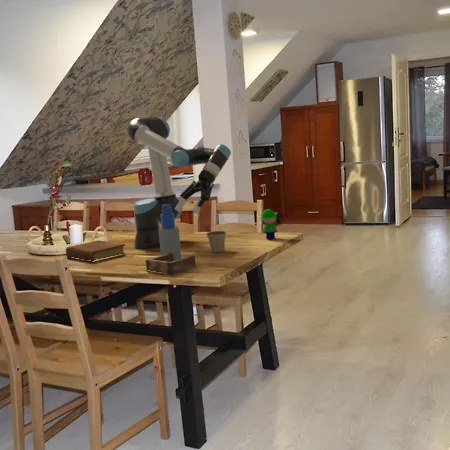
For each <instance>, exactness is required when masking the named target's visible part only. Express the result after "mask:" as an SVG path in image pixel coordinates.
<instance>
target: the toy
mask: <svg viewBox="0 0 450 450" xmlns="http://www.w3.org/2000/svg"><path fill="white" fill-rule="evenodd" d="M261 214H262V216H261V217H260V220H263V222H264V225H263V231H262V233H263V234H265V237H266V238H267V240H268V241H274V240H273V239H275V240H276V233H277V232H278V230H277V227H276V224H275V223H277V224H280V223H281V222H280V221H281V220H280V214H279V213H278V212H274V210H272V209H270V208H267V209H264V210H263V212H262V213H261Z"/></svg>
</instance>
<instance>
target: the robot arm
mask: <svg viewBox="0 0 450 450" xmlns="http://www.w3.org/2000/svg"><path fill="white" fill-rule="evenodd" d="M170 129H171V128H170V125H169V123H168V121H167V120H166V119H165V118H163V117H162V116H148V117H136V118H134V119H132V120H131V121H130V123H129V124H128V126H127V135H128V137H129V138H130V140H132V142H134V143H136V144H138V145H144V146H145V147H147V149H148V154H149V155H148V156H149V160H150V161H149V162H150V166H151V173H152V174H151V175H152V178H153V184H154V190H155V194H154V196H153V198H146V199H142V200H138V201H136V202H135V203H134V207H133V214H134V219H135V229H136V232H135V233H136V234H135V238H134V242H133V245H134V246H133V247H134V248H135V249H139V248H140V250H141V249H155V248H158V247H159V248H160V240H159V228H160V224H161V214H162V205H163V204H170V205H171V210H172V213H174V220H177V219H179V218H180V216H181V215H182V212H183V209H184V208H183V207H184V206H185V204H186V203H187V201H188V199H189V198H190V197H192V196H193V195H194V194H196V193H200V196H199V198H198V200H197V202H196V203H195V204H194V206H193V208H192V209H191V211H192V212H193V213H194V214H196V215H197V214H198V213H199V211H200V210H201V208H202V206H203V205H204V204H205V202H206V201H207V202H209V201H210V200H211V194H212V192H213V187H214V186H215V184H214V182H215V180H216V178H217V177H218V176H219V174H220V173H221V171H222V170H223V168H224V166H225V164H226V163H227V161H228V160H229V158H230V156H231V155H232V151H231V149H230V148H229V147H228V146H227V145H224V144H223V143H220V144H217V146H216V147H215V148H211V147H210V148H208V147H204V146H197V147H196V146H195V147H194V148H191V149H190V148H188V149H186V148H184V147H182V146H179V145H178V144H176V143H174V142H172V141H170V140H168V137H169V136H170V132H171V130H170ZM167 158H168V159H169V160H171V163H172V164H173V166H174V167H177V168H183V167H188V166H196V165H204V166H203V167H202V170H201V171H200V172H199V174H198V176H197V178H198V180H197V181H195V180H193V181H192V182H191V183H190V185H189V186H188V187H187V188H186V189H184V190H183V192H181V194H180V195H179V197H180V198H179V197H177V196H176V192H174V191H173V188H172V183H171V182H172V181H171V177H170V176H171V175H170V170H169V165H168V163H169V162H168V159H167Z"/></svg>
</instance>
